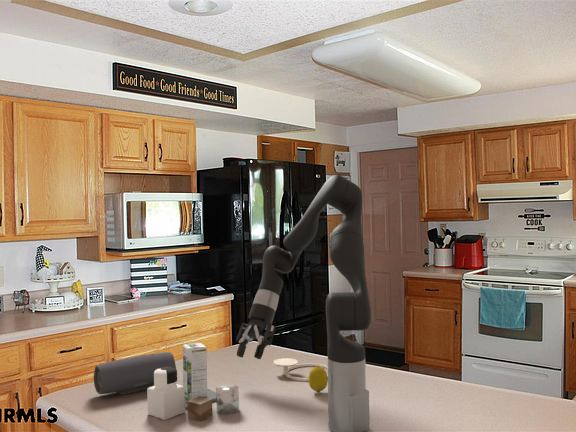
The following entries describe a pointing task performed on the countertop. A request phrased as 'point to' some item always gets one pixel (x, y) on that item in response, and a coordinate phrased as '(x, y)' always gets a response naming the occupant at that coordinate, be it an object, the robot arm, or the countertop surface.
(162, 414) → the medicine bottle
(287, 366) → the hand towel holder
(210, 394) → the plate
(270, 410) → the countertop surface
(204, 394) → the syrup box
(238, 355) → the robot arm
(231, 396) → the brushed tin
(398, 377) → the countertop surface
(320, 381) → the lemon
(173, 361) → the bluetooth speaker
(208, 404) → the walnut block
